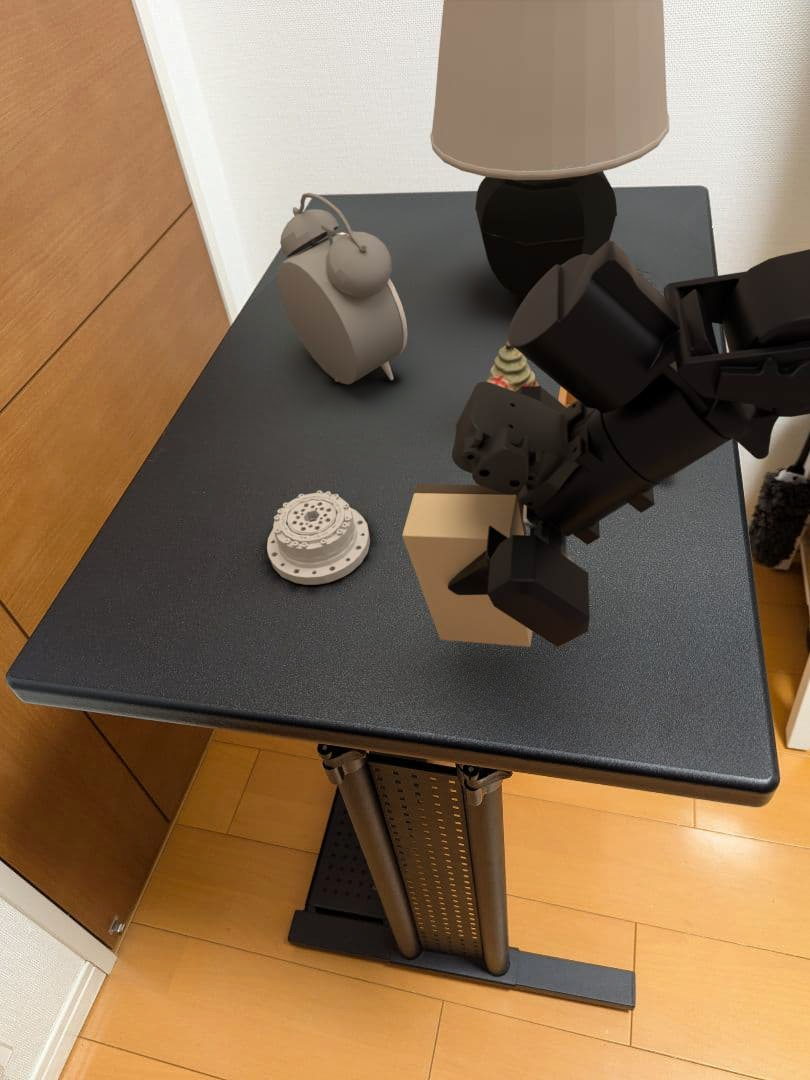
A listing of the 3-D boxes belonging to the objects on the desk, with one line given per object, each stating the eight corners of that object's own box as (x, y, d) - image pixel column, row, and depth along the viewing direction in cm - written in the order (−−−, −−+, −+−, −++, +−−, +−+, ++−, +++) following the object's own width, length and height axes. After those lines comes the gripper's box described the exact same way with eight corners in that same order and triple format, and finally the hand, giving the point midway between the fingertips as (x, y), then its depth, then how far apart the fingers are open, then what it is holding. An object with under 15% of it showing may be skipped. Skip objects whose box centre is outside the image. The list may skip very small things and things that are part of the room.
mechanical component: (299, 504, 80) (251, 573, 74) (290, 472, 77) (239, 542, 71) (386, 523, 77) (344, 597, 71) (380, 491, 74) (335, 566, 68)
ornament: (517, 446, 83) (517, 367, 76) (465, 433, 85) (460, 356, 78) (544, 404, 87) (546, 326, 80) (494, 393, 90) (492, 316, 82)
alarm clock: (421, 386, 92) (401, 203, 76) (362, 418, 89) (329, 234, 73) (345, 334, 102) (313, 163, 86) (290, 361, 99) (246, 188, 83)
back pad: (450, 592, 62) (416, 483, 52) (537, 597, 60) (519, 485, 50) (439, 640, 59) (401, 535, 50) (530, 647, 57) (509, 539, 47)
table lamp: (628, 362, 91) (680, -59, 62) (414, 338, 99) (372, -42, 71) (660, 254, 108) (713, -118, 79) (475, 241, 116) (461, -98, 87)
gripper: (538, 273, 48) (386, 416, 58) (530, 475, 35) (338, 613, 45) (655, 377, 52) (495, 494, 62) (684, 591, 39) (478, 694, 49)
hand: (455, 561), depth 54 cm, fingers closed on back pad, 5 cm apart
